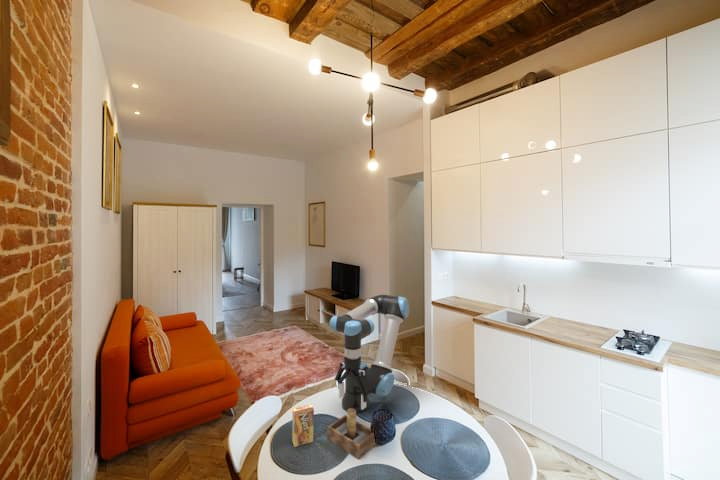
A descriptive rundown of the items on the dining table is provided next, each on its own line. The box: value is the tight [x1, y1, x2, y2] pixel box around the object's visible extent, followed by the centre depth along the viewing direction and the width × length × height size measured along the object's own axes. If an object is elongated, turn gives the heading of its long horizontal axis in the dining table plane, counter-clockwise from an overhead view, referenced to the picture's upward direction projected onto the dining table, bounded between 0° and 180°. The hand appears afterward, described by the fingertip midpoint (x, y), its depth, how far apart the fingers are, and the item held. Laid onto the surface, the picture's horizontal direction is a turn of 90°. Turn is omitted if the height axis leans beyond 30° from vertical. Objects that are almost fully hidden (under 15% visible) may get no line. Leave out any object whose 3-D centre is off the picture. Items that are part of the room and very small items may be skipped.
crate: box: [326, 414, 377, 460], centre depth 135 cm, size 19×12×6 cm, turn 49°
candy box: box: [291, 404, 315, 448], centre depth 134 cm, size 9×4×15 cm, turn 116°
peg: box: [346, 408, 357, 440], centre depth 135 cm, size 4×4×14 cm
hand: (352, 402), depth 135 cm, fingers open, 13 cm apart
